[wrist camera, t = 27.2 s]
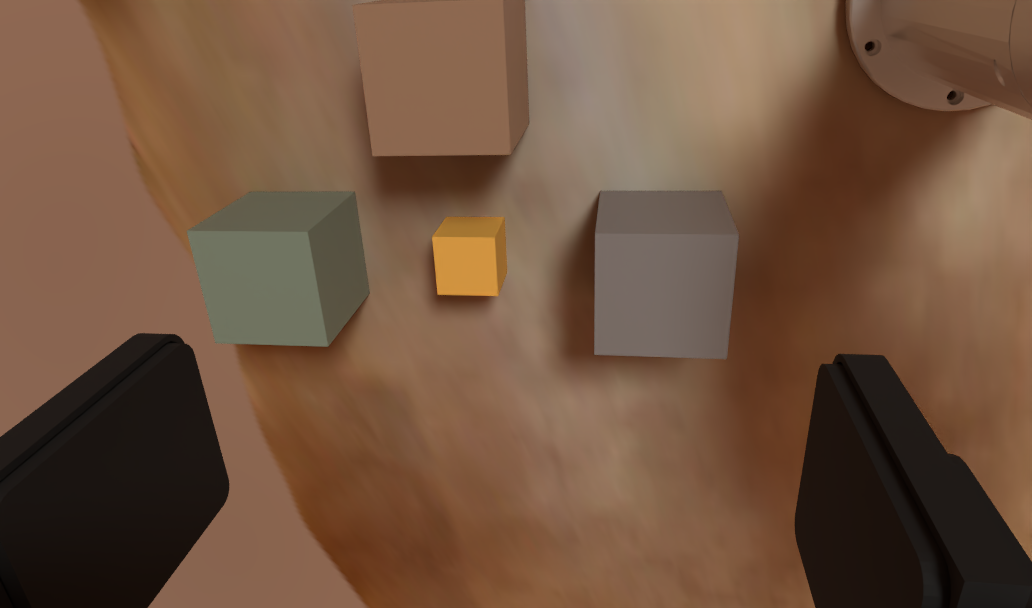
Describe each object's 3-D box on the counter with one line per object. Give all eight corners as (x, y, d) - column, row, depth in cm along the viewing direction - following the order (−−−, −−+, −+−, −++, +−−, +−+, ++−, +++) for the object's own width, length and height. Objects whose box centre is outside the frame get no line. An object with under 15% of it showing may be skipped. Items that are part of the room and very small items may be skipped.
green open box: (250, 191, 50) (186, 230, 42) (354, 191, 48) (307, 231, 41) (271, 291, 53) (215, 343, 46) (369, 293, 52) (328, 346, 45)
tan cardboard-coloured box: (398, -3, 43) (352, 4, 36) (524, -9, 42) (502, -2, 34) (412, 125, 46) (372, 156, 39) (529, 123, 45) (510, 154, 38)
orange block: (446, 216, 48) (432, 236, 45) (504, 216, 48) (494, 237, 44) (451, 270, 50) (437, 294, 47) (507, 271, 50) (498, 296, 46)
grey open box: (600, 190, 46) (595, 233, 39) (721, 190, 45) (739, 234, 38) (599, 297, 49) (594, 354, 42) (712, 300, 48) (726, 359, 41)
